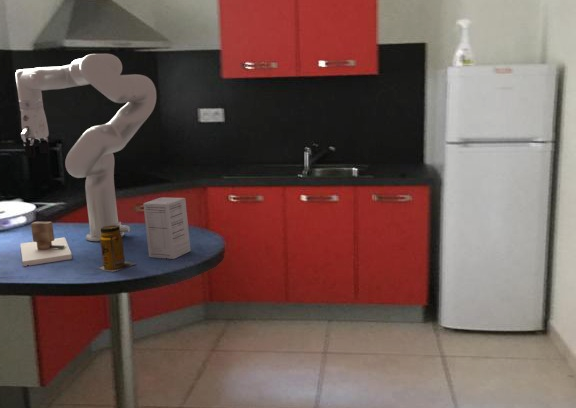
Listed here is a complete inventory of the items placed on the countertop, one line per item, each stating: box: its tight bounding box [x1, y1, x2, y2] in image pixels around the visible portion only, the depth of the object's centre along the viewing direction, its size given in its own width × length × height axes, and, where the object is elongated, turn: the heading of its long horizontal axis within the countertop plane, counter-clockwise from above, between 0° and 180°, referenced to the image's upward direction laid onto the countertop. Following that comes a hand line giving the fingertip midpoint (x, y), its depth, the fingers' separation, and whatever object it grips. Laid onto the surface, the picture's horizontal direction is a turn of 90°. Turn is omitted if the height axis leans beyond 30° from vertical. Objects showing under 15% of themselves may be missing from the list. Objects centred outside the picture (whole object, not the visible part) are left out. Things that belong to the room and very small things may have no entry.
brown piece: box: [30, 221, 64, 250], centre depth 209 cm, size 10×4×8 cm, turn 75°
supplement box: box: [142, 196, 191, 260], centre depth 200 cm, size 10×9×17 cm
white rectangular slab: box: [20, 237, 73, 267], centre depth 210 cm, size 24×14×2 cm, turn 23°
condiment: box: [98, 225, 135, 273], centre depth 191 cm, size 7×8×12 cm
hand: (37, 155), depth 231 cm, fingers open, 9 cm apart
